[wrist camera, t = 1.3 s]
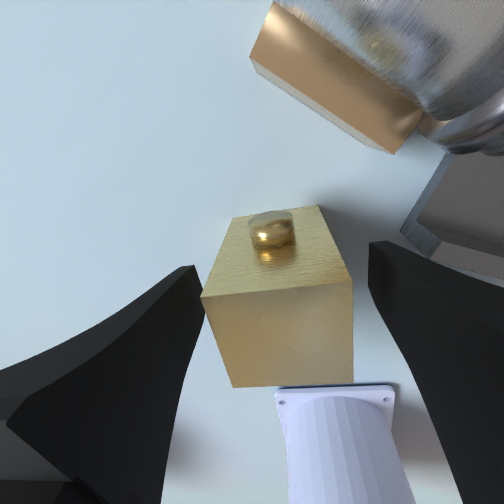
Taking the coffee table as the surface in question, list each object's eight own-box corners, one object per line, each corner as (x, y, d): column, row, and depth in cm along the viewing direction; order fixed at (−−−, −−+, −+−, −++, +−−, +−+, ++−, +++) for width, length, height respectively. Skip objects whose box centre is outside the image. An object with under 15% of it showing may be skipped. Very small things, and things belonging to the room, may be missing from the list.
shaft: (492, 43, 8) (807, -60, 3) (393, 164, 10) (500, 209, 5) (287, -131, 7) (313, -722, 2) (219, 47, 9) (151, -32, 4)
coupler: (323, 288, 14) (353, 397, 8) (251, 296, 14) (237, 401, 9) (316, 187, 11) (352, 252, 6) (229, 202, 12) (190, 272, 6)
